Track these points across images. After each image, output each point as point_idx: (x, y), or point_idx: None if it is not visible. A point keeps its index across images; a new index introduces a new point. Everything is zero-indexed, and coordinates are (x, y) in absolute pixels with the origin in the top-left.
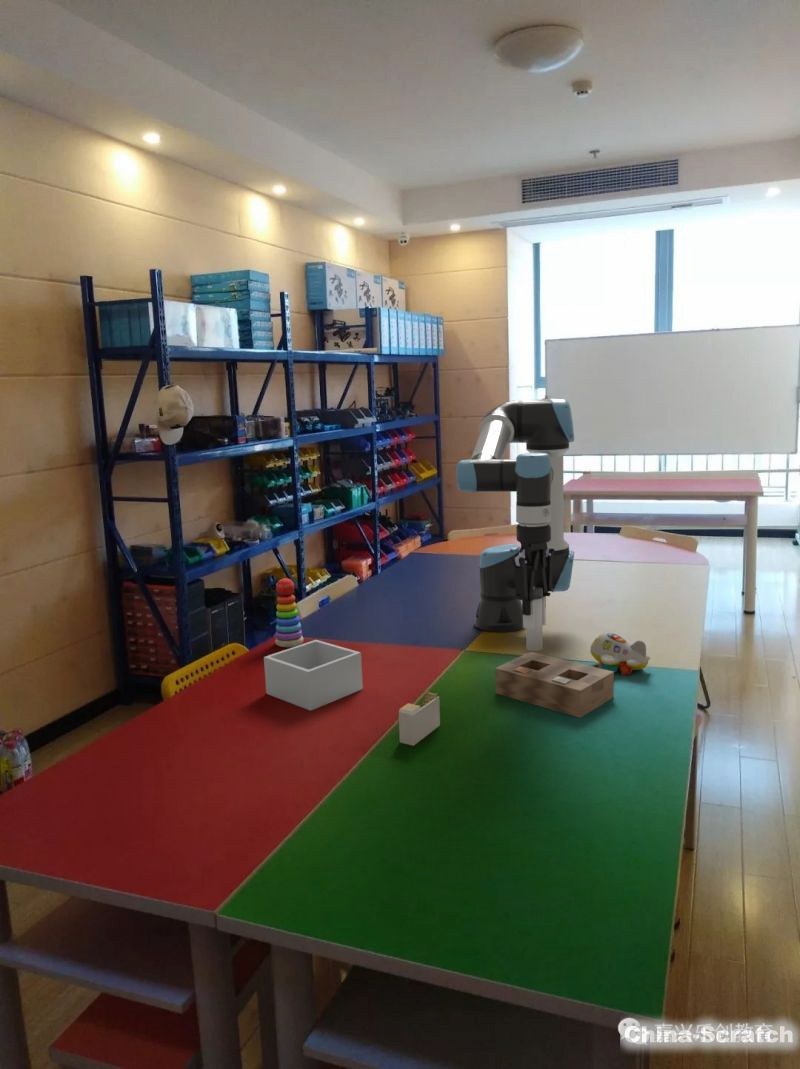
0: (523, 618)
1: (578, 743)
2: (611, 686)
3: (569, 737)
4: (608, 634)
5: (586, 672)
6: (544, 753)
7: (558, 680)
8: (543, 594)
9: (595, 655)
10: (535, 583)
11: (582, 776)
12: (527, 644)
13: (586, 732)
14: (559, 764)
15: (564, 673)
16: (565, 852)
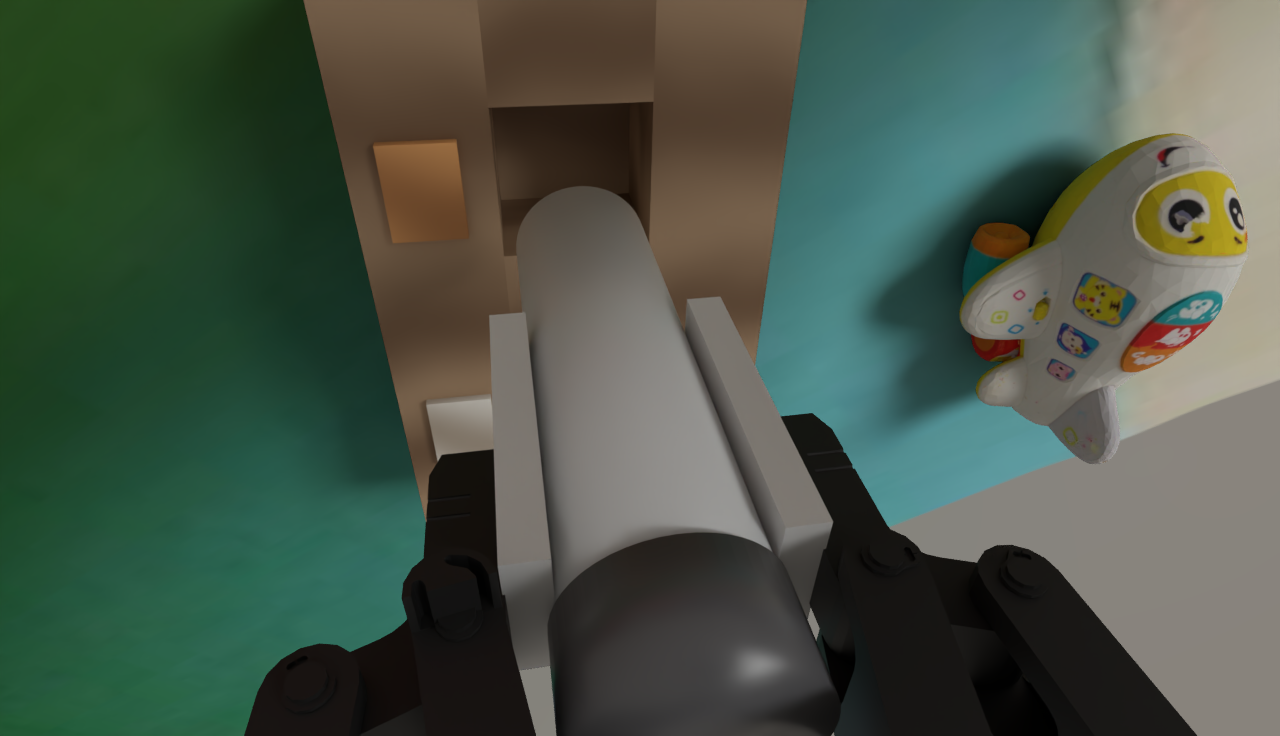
0: (492, 385)
1: (247, 542)
2: None
3: (256, 504)
4: (1190, 305)
5: None
6: (64, 525)
7: (443, 429)
8: (819, 633)
9: (1075, 200)
10: (879, 725)
11: (81, 649)
12: (522, 246)
13: (345, 513)
14: (62, 587)
15: None
16: None
